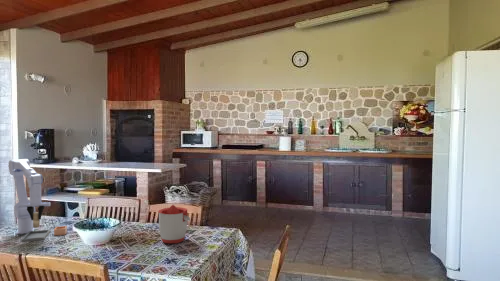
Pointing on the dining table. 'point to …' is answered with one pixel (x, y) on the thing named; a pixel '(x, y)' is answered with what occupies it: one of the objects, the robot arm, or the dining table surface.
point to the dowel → (36, 220)
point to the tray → (35, 235)
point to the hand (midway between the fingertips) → (36, 219)
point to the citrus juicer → (173, 224)
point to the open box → (60, 230)
